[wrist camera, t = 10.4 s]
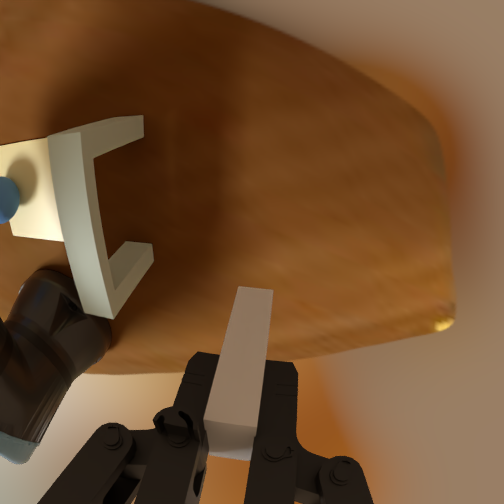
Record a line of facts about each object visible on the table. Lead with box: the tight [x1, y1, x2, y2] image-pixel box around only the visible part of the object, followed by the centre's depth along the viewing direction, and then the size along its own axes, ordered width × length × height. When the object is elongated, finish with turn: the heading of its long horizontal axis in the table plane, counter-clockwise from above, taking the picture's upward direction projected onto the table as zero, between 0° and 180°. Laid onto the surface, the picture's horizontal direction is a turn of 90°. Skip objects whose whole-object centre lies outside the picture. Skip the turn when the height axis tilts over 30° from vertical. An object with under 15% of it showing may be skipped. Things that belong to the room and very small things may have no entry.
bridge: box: [47, 115, 154, 319], centre depth 23 cm, size 3×14×9 cm, turn 177°
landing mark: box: [0, 138, 64, 241], centre depth 28 cm, size 12×12×1 cm
